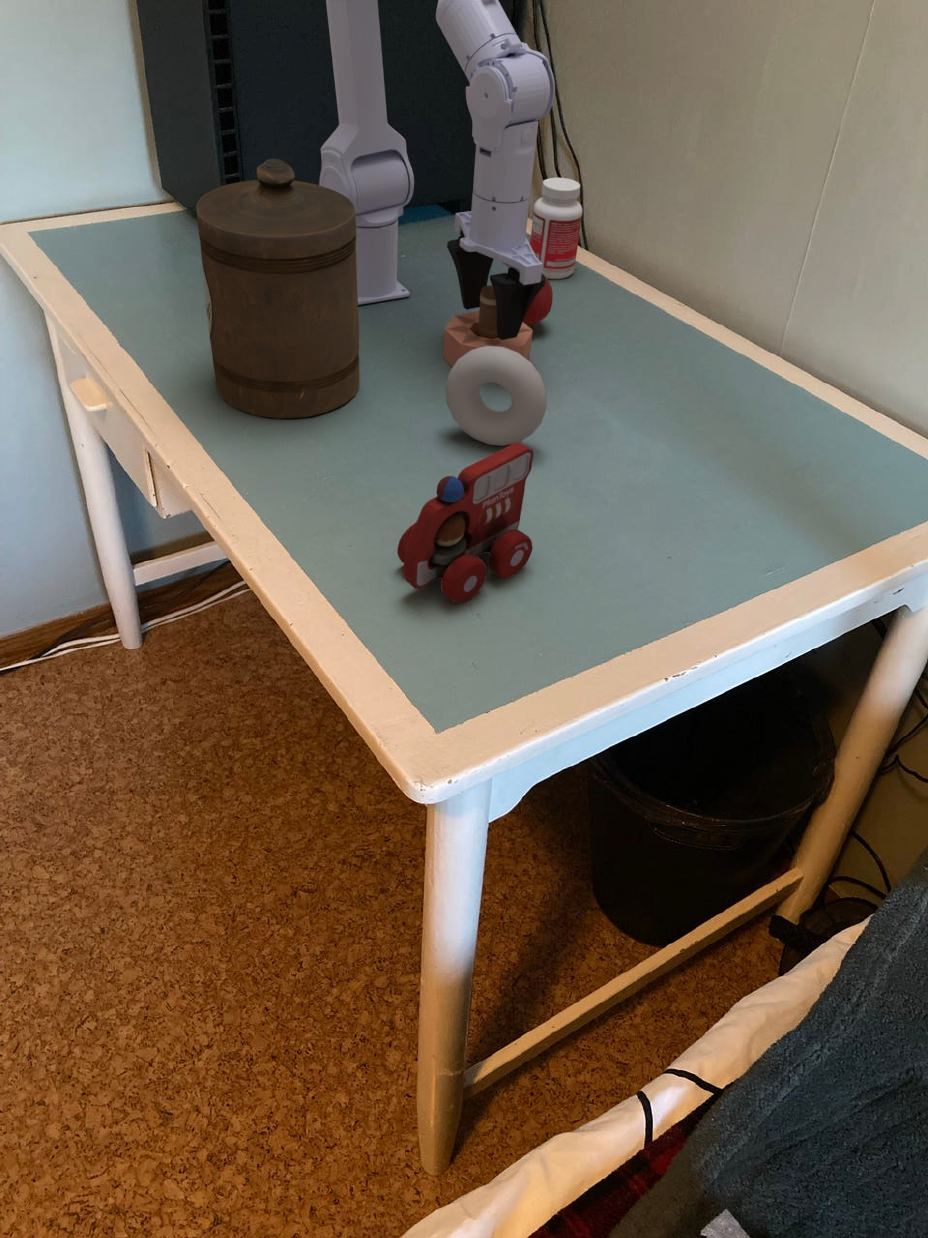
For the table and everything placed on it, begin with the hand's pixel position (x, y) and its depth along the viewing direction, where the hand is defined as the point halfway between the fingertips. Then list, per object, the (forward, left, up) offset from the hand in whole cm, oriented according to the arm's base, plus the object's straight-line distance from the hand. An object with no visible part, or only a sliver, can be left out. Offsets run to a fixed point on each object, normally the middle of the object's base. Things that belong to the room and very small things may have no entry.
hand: (489, 321), depth 105 cm
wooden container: (-3, -22, -5) cm, 23 cm away
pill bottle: (-18, +20, -5) cm, 27 cm away
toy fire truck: (+31, -20, -5) cm, 37 cm away
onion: (-5, +8, -5) cm, 10 cm away
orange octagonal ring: (0, 0, -4) cm, 4 cm away
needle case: (0, 0, -4) cm, 4 cm away
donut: (+15, -8, -5) cm, 18 cm away
